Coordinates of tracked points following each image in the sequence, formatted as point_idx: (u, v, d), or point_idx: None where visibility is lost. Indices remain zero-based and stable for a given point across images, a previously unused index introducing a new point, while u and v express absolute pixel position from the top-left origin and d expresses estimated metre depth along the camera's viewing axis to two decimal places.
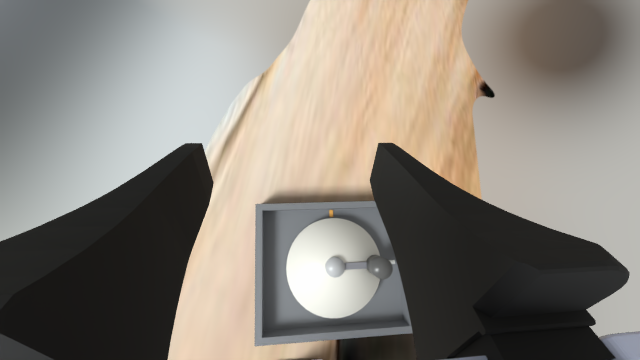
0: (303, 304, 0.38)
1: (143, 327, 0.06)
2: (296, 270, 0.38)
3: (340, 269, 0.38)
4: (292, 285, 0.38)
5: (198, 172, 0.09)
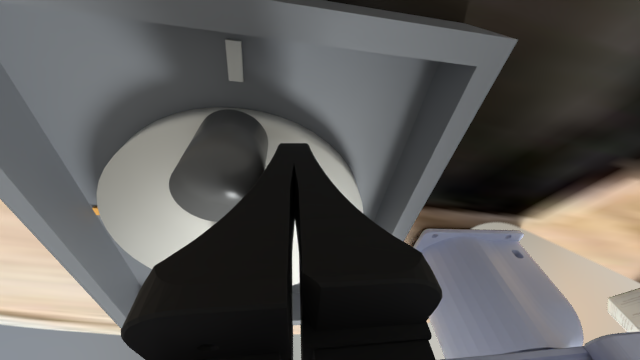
0: None
1: (291, 316, 0.06)
2: None
3: None
4: None
5: None
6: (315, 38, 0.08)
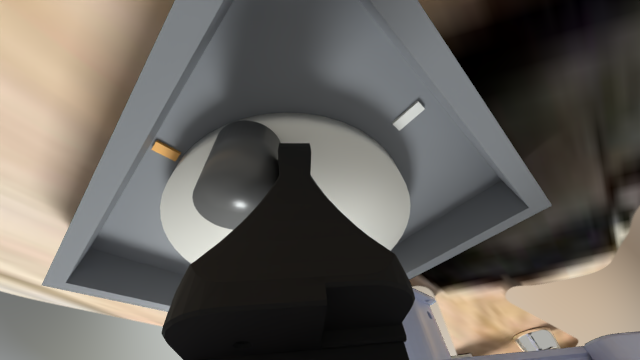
0: None
1: None
2: None
3: None
4: None
5: None
6: (491, 152, 0.12)
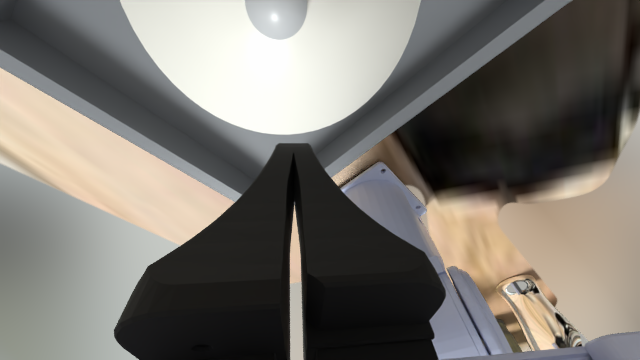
0: None
1: (287, 317, 0.06)
2: (356, 81, 0.15)
3: None
4: (389, 62, 0.15)
5: (293, 171, 0.10)
6: None
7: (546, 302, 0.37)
